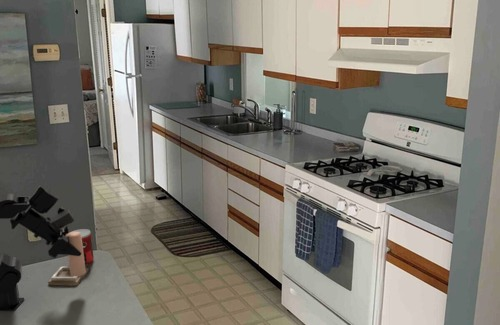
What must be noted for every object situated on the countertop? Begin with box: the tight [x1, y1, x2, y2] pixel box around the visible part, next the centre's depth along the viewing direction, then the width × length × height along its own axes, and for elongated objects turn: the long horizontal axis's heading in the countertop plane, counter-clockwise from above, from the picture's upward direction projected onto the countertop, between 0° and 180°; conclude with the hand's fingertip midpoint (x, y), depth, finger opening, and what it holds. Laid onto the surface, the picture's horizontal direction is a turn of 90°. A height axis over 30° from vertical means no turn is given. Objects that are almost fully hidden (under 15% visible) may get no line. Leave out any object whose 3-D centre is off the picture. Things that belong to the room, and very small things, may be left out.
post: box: [66, 231, 87, 276], centre depth 160 cm, size 5×5×13 cm
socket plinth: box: [47, 265, 89, 286], centre depth 172 cm, size 10×10×2 cm
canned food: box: [69, 228, 95, 266], centre depth 183 cm, size 8×8×11 cm
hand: (80, 251), depth 161 cm, fingers closed on post, 5 cm apart
